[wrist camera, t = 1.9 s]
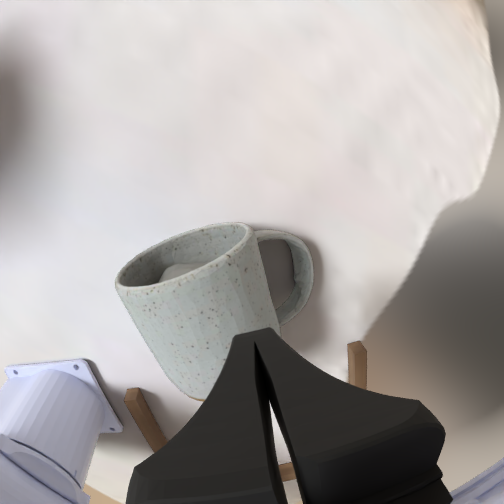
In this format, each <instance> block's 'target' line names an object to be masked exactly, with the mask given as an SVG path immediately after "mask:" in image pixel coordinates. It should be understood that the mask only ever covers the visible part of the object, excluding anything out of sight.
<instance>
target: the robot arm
mask: <svg viewBox="0 0 504 504" xmlns="http://www.w3.org/2000/svg"><path fill="white" fill-rule="evenodd" d="M76 365H77V366H79V367H77V366H76ZM4 370H5V373H6V375H7V377H8V379H7V381H6V382H5V383H4V385H3V386H2V388H1V389H0V504H89V500H90V496H89V495H87V494H86V493H85V492H83V487H84V484H85V480H86V477H87V473H88V470H89V466H90V463H91V460H92V456H93V453H94V450H95V447H96V443H97V440H98V437H99V434H100V433H120V432H122V431H123V426H122V424H121V423H120V421H119V419H118V418H117V416H116V414H115V413H114V411H113V409H112V408H111V406H110V404H109V402H108V401H107V399H106V397H105V395H104V393H103V392H102V390H101V388H100V386H99V384H98V382H97V380H96V378H95V377H94V375H93V373H92V371H91V369H90V367H89V365H88V363H87V362H86V361H85V360H83V359H78V360H69V361H60V362H50V363H40V364H28V365H15V366H6V368H5V369H4ZM269 401H270V403H271V406H272V409H273V411H274V414H275V417H276V419H277V422H278V425H279V427H280V430H281V432H282V435H283V438H284V440H285V443H286V445H287V448H288V451H289V454H290V457H291V461H292V465H293V468H294V472H295V476H296V479H297V483H298V487H299V490H300V494H301V498H302V501H303V504H504V458H502V459H501V460H500V461H498V462H497V463H495V464H494V465H493V466H491V467H490V468H488V469H487V470H486V471H484V472H482V473H481V474H479V475H478V476H476V477H475V478H473V479H471V480H470V481H468V482H467V483H465V484H464V485H462V486H460V487H458V488H457V489H455V490H453V491H452V492H450V493H449V492H448V490H447V488H446V487H445V485H444V484H443V482H442V480H441V478H442V476H443V474H442V472H441V470H440V468H439V467H438V465H437V464H436V463H437V461H438V458H439V455H440V453H441V450H442V447H443V444H444V441H445V435H446V433H445V430H444V427H443V426H442V425H441V423H440V422H439V421H438V419H437V418H436V417H435V416H434V415H433V414H432V413H431V412H430V410H428V409H427V408H426V407H425V406H424V405H423V404H422V403H421V402H420V401H419V400H413V399H406V398H400V397H393V396H388V395H383V394H379V393H375V392H372V391H368V390H365V389H362V388H359V387H356V386H354V385H351V384H349V383H346V382H343V381H341V380H339V379H337V378H335V377H333V376H331V375H329V374H327V373H326V372H324V371H322V370H321V369H319V368H317V367H316V366H314V365H313V364H311V363H310V362H309V361H307V360H306V359H304V358H303V357H302V356H300V355H299V354H298V353H297V352H296V351H294V350H293V349H292V348H291V347H290V346H289V345H288V344H286V343H285V342H284V341H283V340H282V339H281V338H280V336H279V335H278V334H277V333H276V332H275V331H274V329H272V328H271V327H268V328H263V329H259V330H255V331H251V332H246V333H242V334H238V335H235V336H234V337H233V338H232V343H231V346H230V350H229V353H228V355H227V358H226V361H225V363H224V365H223V368H222V370H221V372H220V374H219V376H218V378H217V380H216V382H215V384H214V386H213V388H212V390H211V391H210V393H209V395H208V396H207V398H206V399H205V401H204V402H203V404H202V405H201V407H200V408H199V409H198V411H197V412H196V413H195V414H194V416H193V417H192V418H191V419H190V421H189V422H188V423H187V424H186V425H185V426H184V427H183V429H182V430H181V431H179V432H178V433H177V434H176V435H175V436H174V437H173V438H172V439H171V440H170V441H169V442H168V443H167V444H165V445H164V446H163V447H162V448H161V449H159V450H158V451H157V452H155V453H154V454H153V455H151V456H150V457H149V458H147V459H146V460H144V461H143V462H142V463H140V464H139V465H137V466H135V467H134V470H133V474H132V477H131V479H130V483H129V487H128V492H127V498H126V504H288V502H287V498H286V494H285V490H284V486H283V482H282V478H281V474H280V470H279V466H278V462H277V457H276V451H275V443H274V435H273V427H272V419H271V411H270V403H269Z"/></svg>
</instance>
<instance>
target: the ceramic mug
mask: <svg viewBox="0 0 504 504" xmlns="http://www.w3.org/2000/svg"><path fill="white" fill-rule="evenodd" d="M272 239H283V240H285V241H286V242H287V243H288V246H289V247H290V248H291V252H292V258H293V264H294V271H295V275H294V280H295V286H294V289H293V291H292V293H291V295H290V296H289V298H288V299H287V300H286V301H285V302H284V303H283V305H282V306H281V307H279V308H278V309H276V310H275V309H274V306H273V303H272V299H271V296H270V291H269V287H268V283H267V279H266V275H265V271H264V267H263V263H262V259H261V255H260V251H259V247H258V243H259V242H261V241H264V240H272ZM313 280H314V267H313V261H312V257H311V253H310V251H309V249H308V247H307V245H306V244H305V243H304V242H303V241H302V240H301V239H299V238H298V237H296V236H294V235H292V234H290V233H286V232H281V231H276V230H259V231H254V230H253V228H252V227H251V226H249V225H247V224H244V223H240V222H226V223H218V224H212V225H207V226H205V227H201V228H198V229H193V230H190V231H187V232H184V233H181V234H179V235H176V236H173V237H170V238H169V239H167V240H164V241H162V242H160V243H158V244H156V245H154V246H152V247H150V248H148V249H147V250H145V251H143V252H142V253H140V254H138V255H136V256H135V257H134V258H133V259H132V260H131V261H129V262H128V263H127V264H126V265H125V266H124V267H123V268H122V269H121V271H120V272H119V273H118V274H117V277H116V279H115V288H116V291H117V293H118V295H119V297H120V299H121V300H122V302H123V304H124V306H125V307H126V309H127V311H128V313H129V314H130V316H131V318H132V320H133V322H134V323H135V325H136V327H137V329H138V330H139V332H140V334H141V335H142V337H143V339H144V340H145V342H146V344H147V345H148V347H149V348H150V350H151V352H152V353H153V355H154V356H155V358H156V360H157V361H158V363H159V364H160V366H161V368H162V369H163V371H164V373H165V374H166V376H167V377H168V378H169V380H170V381H171V382H172V383H173V384H174V385H175V386H176V387H177V388H178V389H179V390H180V391H181V392H183V393H184V394H186V395H187V396H188V397H190V398H193V399H195V400H199V401H205V399H206V398H207V396H208V395H209V393H210V391H211V390H212V388H213V386H214V384H215V382H216V380H217V378H218V376H219V374H220V372H221V370H222V368H223V365H224V363H225V361H226V358H227V355H228V353H229V350H230V346H231V343H232V338H233V337H234V336H235V335H238V334H242V333H246V332H251V331H255V330H259V329H263V328H268V327H271V328H272V329H274V331H275V332H276V333H277V334H278V335H279V336H280V338H281V332H280V327H279V326H282V325H284V324H285V323H287V322H289V321H290V320H291V319H292V318H294V317H295V316H296V315H297V314H298V313H299V312H300V310H301V309H302V308H303V307H304V306H305V304H306V303H307V300H308V298H309V296H310V293H311V290H312V287H313Z"/></svg>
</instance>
